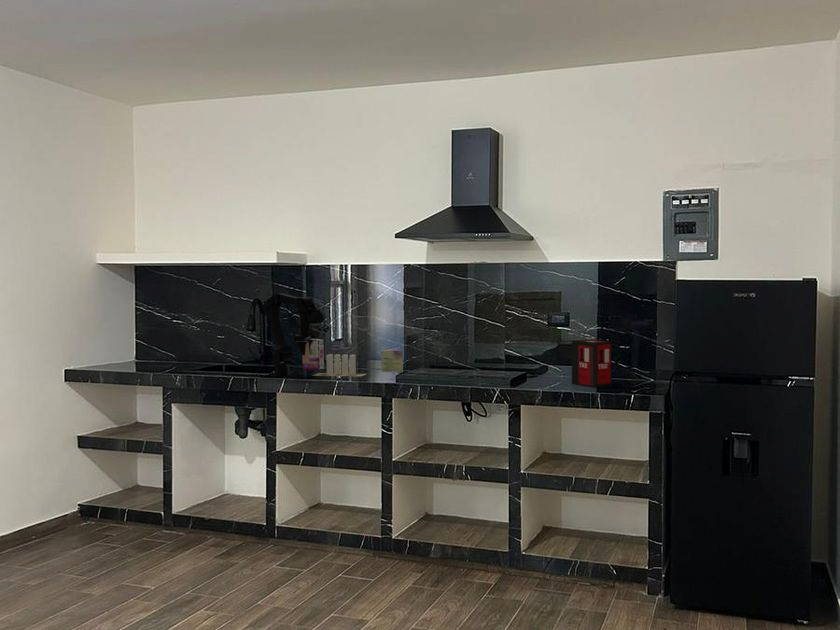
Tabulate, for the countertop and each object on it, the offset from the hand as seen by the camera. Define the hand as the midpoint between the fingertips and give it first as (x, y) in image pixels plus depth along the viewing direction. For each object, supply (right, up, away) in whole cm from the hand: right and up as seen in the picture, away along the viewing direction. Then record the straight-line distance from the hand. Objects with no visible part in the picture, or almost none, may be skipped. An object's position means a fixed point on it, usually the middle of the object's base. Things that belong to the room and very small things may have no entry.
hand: (305, 354), depth 405 cm
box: (+42, -11, +22) cm, 48 cm away
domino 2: (+11, -10, +8) cm, 17 cm away
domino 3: (+15, -10, +7) cm, 20 cm away
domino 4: (+19, -10, +6) cm, 22 cm away
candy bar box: (-1, -10, +40) cm, 41 cm away
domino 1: (0, -4, 0) cm, 4 cm away
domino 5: (+23, -10, +6) cm, 26 cm away
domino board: (+16, -11, +7) cm, 21 cm away
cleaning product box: (+134, -12, -33) cm, 138 cm away
